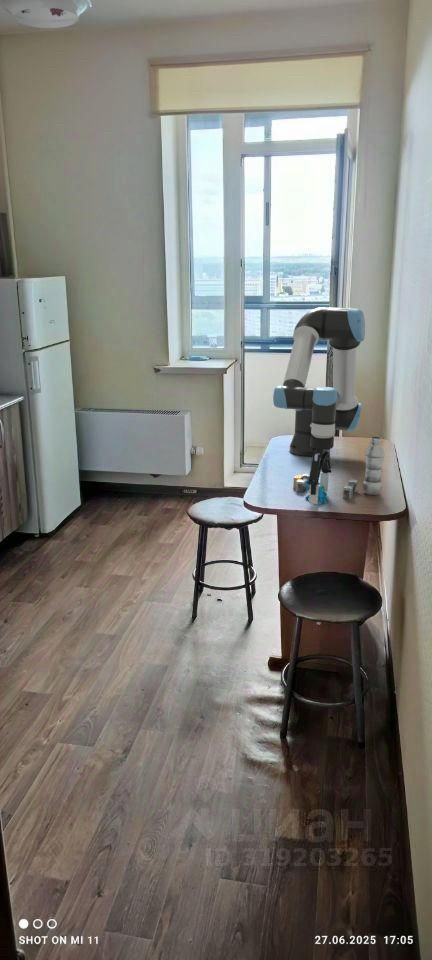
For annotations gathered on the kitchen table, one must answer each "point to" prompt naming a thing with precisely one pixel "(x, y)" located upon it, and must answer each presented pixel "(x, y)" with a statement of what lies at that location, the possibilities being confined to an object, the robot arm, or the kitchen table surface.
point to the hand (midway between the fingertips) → (318, 497)
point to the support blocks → (301, 485)
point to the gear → (321, 493)
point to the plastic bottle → (373, 467)
